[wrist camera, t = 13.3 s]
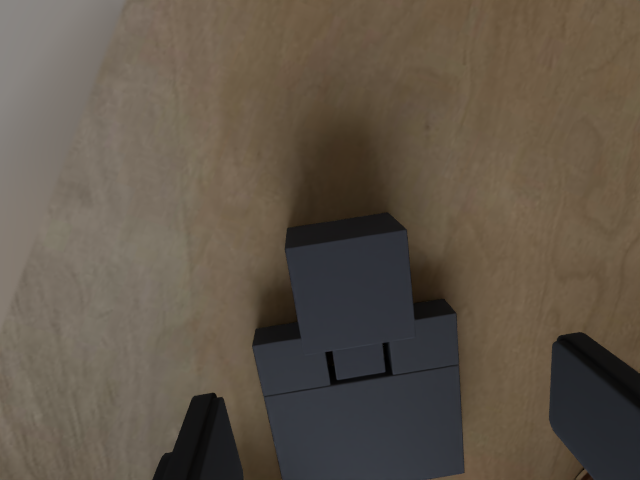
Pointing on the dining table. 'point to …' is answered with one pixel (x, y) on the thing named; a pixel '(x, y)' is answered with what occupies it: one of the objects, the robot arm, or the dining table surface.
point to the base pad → (366, 405)
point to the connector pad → (351, 289)
